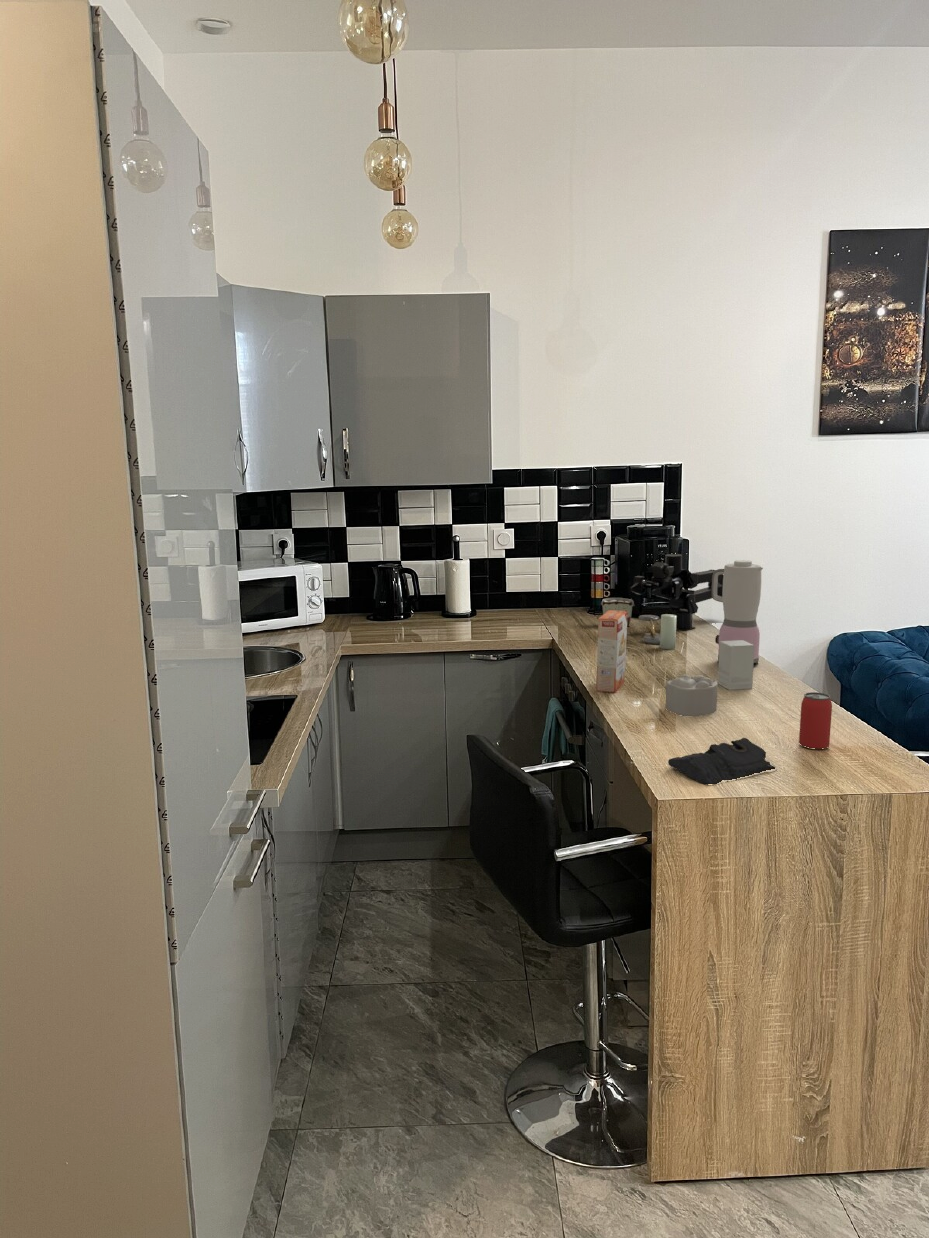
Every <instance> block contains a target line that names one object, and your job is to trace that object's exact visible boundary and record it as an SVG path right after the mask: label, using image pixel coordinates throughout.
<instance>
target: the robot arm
mask: <svg viewBox="0 0 929 1238" xmlns="http://www.w3.org/2000/svg"><path fill="white" fill-rule="evenodd" d="M650 569H651V572H652V575H653V576H652V577H651V581H650V580H647V577H646V576H643V575H637V576H633V577H632V578H633V579H632V584H633V585H632V586H631V587H630V588H629V591H630V592H632V593H634V594H636V595H641V596H642V595H646V593H647V591H648V589H651V593H650V594H651V595H653V596H656V597H660V598H663V599H667V600H668V603H669V609H670V611H671V612H674V615H676V616H677V618H676V630H679V631H689V630H693V629H696V626H693V614H695V615H696V613H698V610H699V606H698V603H701V602H704V601H708V600H711V599H713V598H712V575H713V573H714V571H716V570H717V569H708V570H704V571H698V572H697V571H695V572H691V571H690V570H689V569H684V568H683V554H680V553H676V554H675V553H673V554H671V553H667V554H665V562H660V561H657V562H655V563H654V564H653V565H651V566H650ZM723 576H724V574H720V575H718V583H717V595H718V596H721V597H722V592H723ZM705 583H707V587H703V588H700V589H697V590H692V589H694V588H696V587H698V585H699V584H705Z"/></svg>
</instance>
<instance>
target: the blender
mask: <svg viewBox="0 0 929 1238" xmlns="http://www.w3.org/2000/svg"><path fill="white" fill-rule="evenodd" d="M763 569H764V568H763V567H762V566H761V565H759V564H755V563H754V564H753V562H752V561H751V560H747V559H746V560H745V559H738V560H737V559H735V560H734V562H733V563H725V565H724V568H718V569H717V568H716V569H715V570H716V571H714V573H713V575H712V599H713V600H714V601H716V602H719V603H722V606H723V622H722V624H721V626H720V628H719V630H718V631H719V633H718V634H717V635H716V636H715V640H714V642H715V644H717V645H718V654H717V661H718V664H719V647H720V641H734V640H744V641H746V642H748V643H750V644H753V645H754V663H753V664H757V665H758V664H759V662H760V661H759V660H760V655H759V654H760V653H759V651H760V638H761V636H760V635H761V633H760V628H759V626H758V624H757V615H758V611H759V606H760V603H761V595H762V571H763ZM720 574H723V575H724V576H723V592H722V597H721V596H718V595H717V583H718V575H720Z"/></svg>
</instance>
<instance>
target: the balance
mask: <svg viewBox="0 0 929 1238" xmlns="http://www.w3.org/2000/svg"><path fill="white" fill-rule="evenodd" d="M638 620H640V621H645V622H646V621H647V622H649V624H650V626H649V627H650V632H645V633H644V636H643V638H642V641H643V643H644V644H647V643H649V644H648V645H656V646H657V645H659V646H660V635H661V634H660V633H658V632H656V631H655V628H656V627H655V625H654V622H655V621H656V622H657V621H659V620H660V616H658V615H653V614H642V615H639V616H638Z"/></svg>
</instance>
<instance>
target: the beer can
mask: <svg viewBox="0 0 929 1238" xmlns="http://www.w3.org/2000/svg"><path fill="white" fill-rule="evenodd" d="M803 696H804V697H803V699H802V701H801V705H800V717H799V719H800V720H799V734H798V738H799V739H798V744H799V743H800V744H801V745H802V746H806V747H809V748H815V749H822V748H826V749H828V748H829V747H830V740H831V728H832V727H831V725H832V715H833V713H832V712H833V711H832V710H833V703H832V700H831V695H829V694H828V693H825V692H824V693H823V692H818V691H817V692H816V691H813V692H810V691H809V692H805V693H804V695H803ZM800 744H799V745H800ZM801 745H800V746H801ZM802 746H801V747H802ZM827 747H828V748H827Z"/></svg>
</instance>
